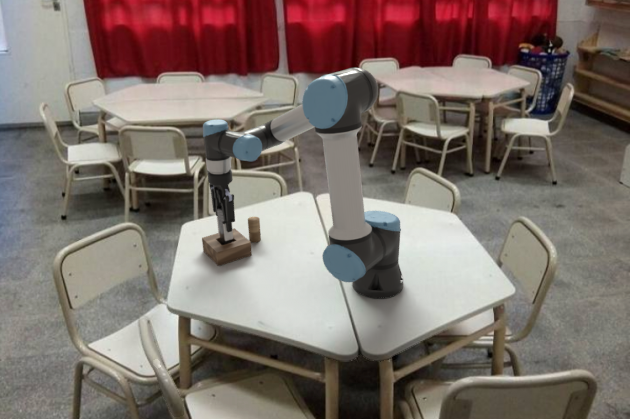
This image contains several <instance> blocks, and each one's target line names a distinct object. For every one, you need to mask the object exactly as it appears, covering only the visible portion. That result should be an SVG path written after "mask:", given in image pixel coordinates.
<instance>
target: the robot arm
mask: <svg viewBox="0 0 630 419" xmlns="http://www.w3.org/2000/svg"><path fill="white" fill-rule="evenodd" d="M378 96H379V85H378V82H377V80H376V79H375V76H374V75H373V74H372V73H371V72H369V71H368V70H366V69H364V68H362V67H349V68H346V69H343V70H340V71H336V72H332V73H329V74H323V75H320V77H318V78H315V79H314V80H312V81H311V82H310V83H309V84H308V85H307V87H306V89H304V93H303V95H302V104H301V103H300V105H298V106H295V107H294V108H292V109H290V110H288V111H286V112H284V113H283V114H280V115H279V116H276V117H274V118H273V119H271V120H269V121H267V122H265V123H263V124H260V125H258V126H255V127H251V128H248V129H246V130H243V131H233V130H230V129H229V128H230V127H229V123H228V122H227V121H226V120H224V119H211V120H207V121H205V122H204V123H203V124H202V137H203V143H204V152H205V153H204V154H205V164H206V171H207V173H206V174H207V180H208V183H209V185H208V186H209V189H210V194H211V203H212V204H211V205H212V212H213V213H215V216H216V223H217V230H218V231H217V232H218V233H219V225H218V215H217V209H218V208H220V207H222V212H223V217H224V222H222V223H223V227H224V238H225V241H227V240H231V239H233V230H232V229H233V223H234V222H236V215H235V194H234V193H232V194H231V190H230V186H229V185H230V184H231V183H232V182H233V170H232V160H233V158H234V159H236V160H237V159H238V160H239V161H245V162H255V161H256V160H258V159H259V157H260V156H261V154H262V152H263V151H265V150H268V149H272V148H273V147H274V148H275V147H277V146H280V145H282V144H283V143H286V141H288V140H291V139H293V138H295V137H296V136H299V135H301V134H303V133H305V132H307V131H309V130H311V129H314V130H315V131H314V132H315V134H316V135H318V136H319V137H320V138H321V139H322V145H323V154H324V155H323V156H324V161H325V162H324V163H325V169H326V170H325V171H326V178H327V186H328V194H329V204H330V210H331V211H330V212H331V218H332V226H331V227H330V228H329V229H328V232H327V234H328V242H329V245H327V246H326V247H325V249H324V250H323V252H322V261H323V264H324V267H325V269H326V271H328V273H329V274H330V275H331V276H332V277H334V278H335V279H337V280H338V281H340V282H344V283H351V284H352V288H353V289H354V291H355V292H357V293H358V294H360V295H362V296H365V297H367V298H372V299H388V298H392V297H394V296H397V295H398V294H400V293H401V292H402V290H403V288H404V277H403V273H402V270H401V267H400V263H399V257H400V244H401V243H400V242H401V231H402V228H401V219H400V218H399V217H398V216H397V215H396V214H394V213H391V212H387V211H384V210H368V211H365V204H364V195H363V186H362V176H361V166H360V156H359V155H360V154H359V145H358V136H357V134H358V133H359V132H360V131H361V129H362V127H363V122H362V114H364V113H366V112H367V111H368V110H370V109H371V108H372V107H373V106H374V104H375V103H376V101H377V99H378ZM219 235H220V234H219Z"/></svg>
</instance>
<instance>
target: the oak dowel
mask: <svg viewBox="0 0 630 419" xmlns="http://www.w3.org/2000/svg"><path fill="white" fill-rule="evenodd" d="M247 226H248V240H249V241H250V242H251V243H253V244H255V243H259V242H260V241H261V240H262V236H261V223H260V217H258V216H249V218H247Z"/></svg>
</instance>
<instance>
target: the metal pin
mask: <svg viewBox="0 0 630 419" xmlns="http://www.w3.org/2000/svg"><path fill="white" fill-rule="evenodd" d="M217 215H218V223H217V226H218V225H219V234H220V244H221V245H225V244H228V243H231V242H233V241H232V239H231V240H227V241H225V238H224V227H223V223H222V222H224V217H223V212H222V207H220V208H218V209H217Z"/></svg>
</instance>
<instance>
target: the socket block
mask: <svg viewBox="0 0 630 419" xmlns="http://www.w3.org/2000/svg"><path fill="white" fill-rule="evenodd" d="M232 230H233V239H232V241H233V242H231V243H228V244H225V245H221V244H220V235H219V233H214V234H209V235H207V236H204V237H201V242H202V251H203V252H204V253H205V254H206V256H208V257H209V258H210V259H211V260H212V262H213V263H215V264H216V266H218V267H220V266H223V265H227V264H230V263H233V262H235V261H238V260H239V261H240V260H241V259H246V258H248V257H251V256H252V252H253V251H252V242H250V241H249V238H247V237H245V236H244V235H243V234H242V233H241V232H240V231H238V230H237V229H236V228H232Z"/></svg>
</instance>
